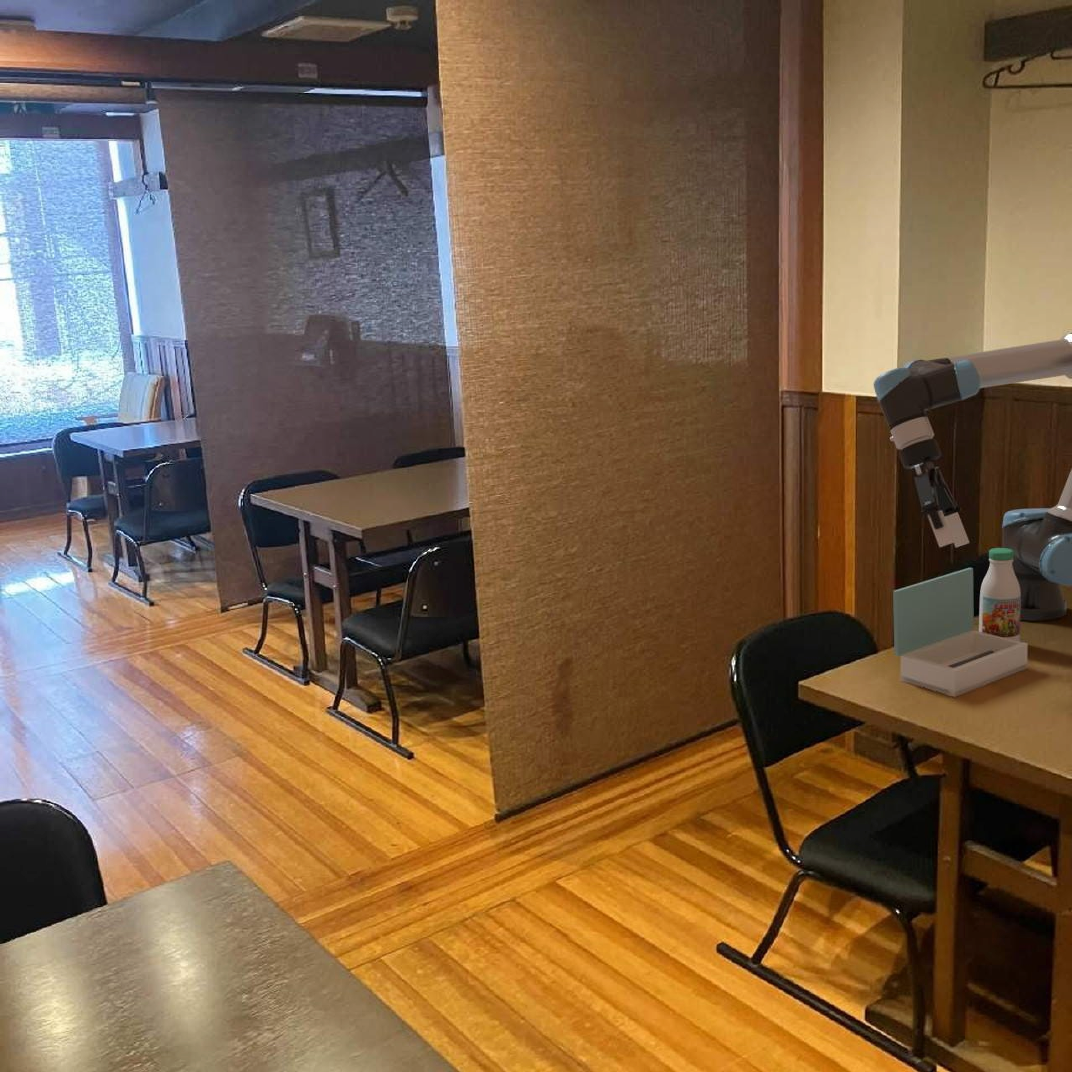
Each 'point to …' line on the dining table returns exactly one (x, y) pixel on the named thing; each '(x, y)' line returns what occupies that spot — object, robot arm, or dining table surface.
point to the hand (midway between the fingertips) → (954, 545)
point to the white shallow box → (963, 662)
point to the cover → (933, 611)
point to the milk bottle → (1000, 597)
